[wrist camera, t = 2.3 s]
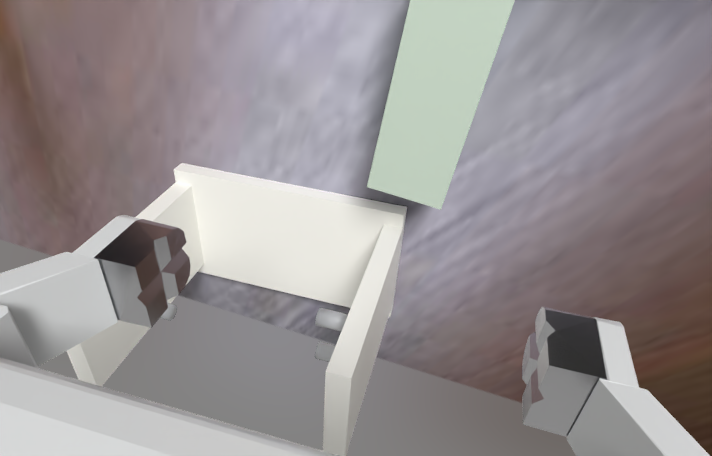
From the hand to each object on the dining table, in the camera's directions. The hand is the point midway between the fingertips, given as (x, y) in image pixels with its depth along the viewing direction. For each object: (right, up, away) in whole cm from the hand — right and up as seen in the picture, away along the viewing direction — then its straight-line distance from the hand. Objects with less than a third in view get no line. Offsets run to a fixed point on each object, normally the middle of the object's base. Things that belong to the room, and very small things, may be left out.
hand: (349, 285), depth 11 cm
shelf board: (+5, +10, +15) cm, 19 cm away
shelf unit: (-5, +1, +24) cm, 25 cm away
